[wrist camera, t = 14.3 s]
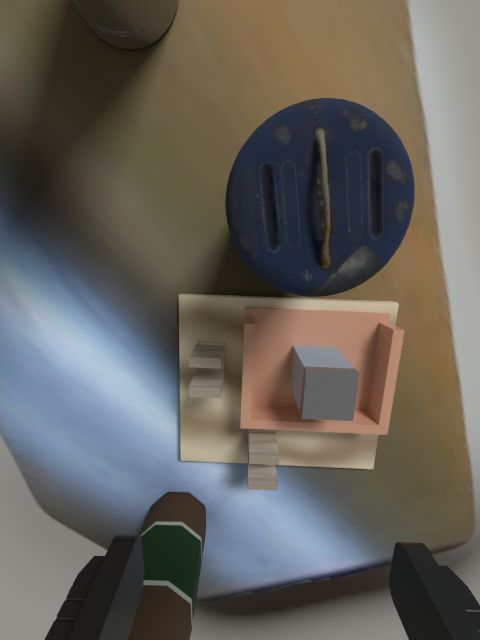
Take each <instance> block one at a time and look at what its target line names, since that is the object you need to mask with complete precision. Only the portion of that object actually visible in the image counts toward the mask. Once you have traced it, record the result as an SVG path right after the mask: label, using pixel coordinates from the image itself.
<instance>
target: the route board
mask: <svg viewBox="0 0 480 640" xmlns="http://www.w3.org/2000/svg"><path fill="white" fill-rule="evenodd" d="M398 305H399V303H396V302H393V301H366V300H340V299H313V298H286V297H260V296H233V295H206V294H180V295H179V360H180V452H181V461H201V462H223V463H246V464H248V489H255V490H277V485H278V481H277V473H276V466H275V465H290V466H313V467H335V468H358V469H373V466H374V460H375V454H376V447H377V441H378V434H360V433H337V432H314V431H291V430H267V429H244V428H240V423H241V395H242V370H243V344H244V319H245V307H260V308H286V309H313V310H339V311H365V312H388V313H391V314H390V320H389V323H390V324H392V325H396V318H397V312H398Z"/></svg>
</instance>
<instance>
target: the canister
mask: <svg viewBox="0 0 480 640" xmlns="http://www.w3.org/2000/svg"><path fill="white" fill-rule="evenodd" d="M413 205H414V177H413V171H412V166H411V162H410V159H409V157H408V154H407V152H406V150H405V148H404V146H403V144H402V142H401V140H400V138H399V137H398V135H397V134H396V132H395V131H394V130H393V129H392V128H391V126H390V125H389V124H388V123H387V122H386V121H385V120H384V119H382V118H381V117H380V116H378V115H377V114H376V113H374V112H373V111H371V110H370V109H368V108H366V107H364V106H362V105H360V104H357V103H355V102H351V101H347V100H343V99H334V98H320V99H312V100H307V101H303V102H300V103H297V104H294V105H291V106H289V107H287V108H285V109H283V110H281V111H279V112H277V113H276V114H274V115H273V116H271V117H270V118H268V119H267V120H266V121H265V122H264V123H263V124H261V125H260V126H259V127H258V128H257V129H256V130H255V131H254V132H253V134H252V135H251V136H250V137H249V138H248V140H247V141H246V142H245V144H244V145H243V147H242V148H241V150H240V151H239V153H238V155H237V157H236V160H235V162H234V164H233V167H232V170H231V172H230V176H229V179H228V184H227V191H226V217H227V223H228V227H229V230H230V234H231V237H232V241H233V243H234V246H235V248H236V250H237V252H238V253H239V255H240V257H241V258H242V260H243V261H244V262H245V264H246V265H247V266H248V267H249V268H250V269H251V271H253V272H254V273H255V274H256V275H257V276H258V277H259V278H260V279H262V280H263V281H264V282H266V283H267V284H269V285H271V286H272V287H274V288H277V289H279V290H281V291H284V292H287V293H291V294H295V295H300V296H307V297H319V296H328V295H333V294H338V293H341V292H344V291H347V290H350V289H352V288H354V287H356V286H358V285H360V284H362V283H364V282H365V281H367V280H368V279H370V278H371V277H372V276H374V275H375V274H376V273H377V272H378V271H380V270H381V269H382V268H383V267H384V266H385V265H386V264H387V263H388V261H389V260H390V259H391V257H392V256H393V255H394V253H395V252H396V250H397V249H398V248H399V246H400V244H401V242H402V240H403V238H404V236H405V234H406V231H407V229H408V226H409V223H410V219H411V215H412V211H413Z"/></svg>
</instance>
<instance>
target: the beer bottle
mask: <svg viewBox="0 0 480 640" xmlns="http://www.w3.org/2000/svg"><path fill="white" fill-rule="evenodd" d="M205 532H206V508H205V506H204V505H203V504H202V503H201V502H200V501H198V500H197V499H196V498H195V497H194V496H193V495H191V494H190V493H184V492H167V493H166V494H165V495H164V496H163V497H162V498H161V499H159V500H158V501H157V502H156V503H155V504H154V505H153V506H151V508H150V510H149V513H148V515H147V517H146V519H145V522H144V525H143V527H142V530H141V533H140V536H141V538H142V549H143V560H144V583H143V588H142V593H141V597H140V600H139V604H138V607H137V610H136V614H135V617H134V621H133V624H132V627H131V631H130V634H129V637H128V640H189V639H190V634H191V630H192V623H193V617H194V609H195V603H196V596H197V589H198V583H199V576H200V569H201V562H202V555H203V548H204V542H205Z"/></svg>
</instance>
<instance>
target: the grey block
mask: <svg viewBox="0 0 480 640" xmlns="http://www.w3.org/2000/svg"><path fill="white" fill-rule="evenodd" d="M359 374H360V373H359V372H358V371H357V370H356V369H355V368H354V367H353V366H352V365H351V364H350V363H349V362H348V361H347V360H346V359H345V357H344V356H343V355H342V354H341V353H340V352H339V351H338V350H337V349H336V348H335V347H320V346H297V345H293V352H292V364H291V376H290V386H291V388H292V391H293V394H294V397H295V400H296V403H297V406H298V409H299V412H300V415H301V418H302V419H318V420H340V421H353V418H354V411H355V403H356V396H357V389H358V381H359Z"/></svg>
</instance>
